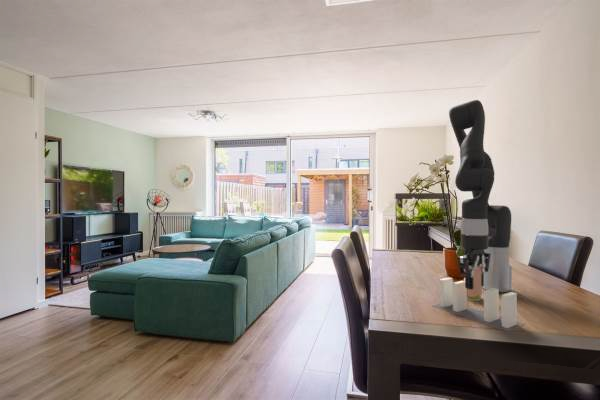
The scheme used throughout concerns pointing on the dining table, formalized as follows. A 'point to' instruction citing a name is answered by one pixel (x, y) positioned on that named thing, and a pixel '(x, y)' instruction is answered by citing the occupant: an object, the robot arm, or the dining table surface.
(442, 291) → the domino
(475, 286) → the domino
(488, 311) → the domino
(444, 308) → the mat
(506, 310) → the domino
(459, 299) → the domino
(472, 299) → the supplement bottle
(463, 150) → the robot arm
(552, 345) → the dining table surface
